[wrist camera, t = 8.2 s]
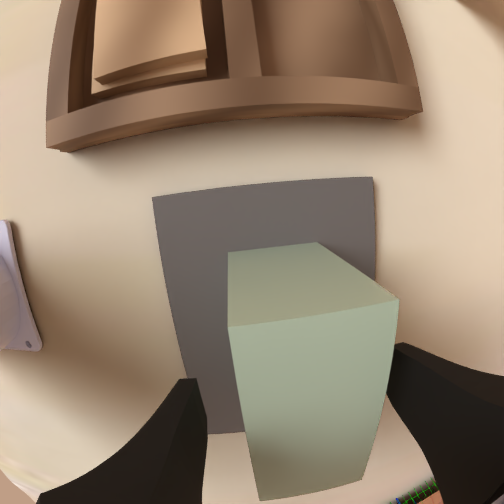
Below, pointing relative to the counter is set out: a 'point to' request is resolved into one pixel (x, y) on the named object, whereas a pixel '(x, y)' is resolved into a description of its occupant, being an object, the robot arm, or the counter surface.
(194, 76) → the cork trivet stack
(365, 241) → the charcoal mat
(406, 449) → the counter surface
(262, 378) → the pale green rectangular block
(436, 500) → the green-backed flat pad
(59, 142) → the walnut rack
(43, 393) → the counter surface
